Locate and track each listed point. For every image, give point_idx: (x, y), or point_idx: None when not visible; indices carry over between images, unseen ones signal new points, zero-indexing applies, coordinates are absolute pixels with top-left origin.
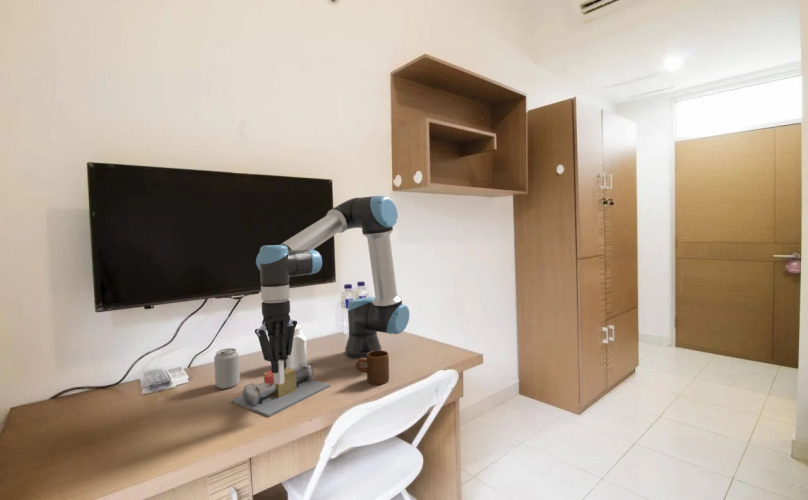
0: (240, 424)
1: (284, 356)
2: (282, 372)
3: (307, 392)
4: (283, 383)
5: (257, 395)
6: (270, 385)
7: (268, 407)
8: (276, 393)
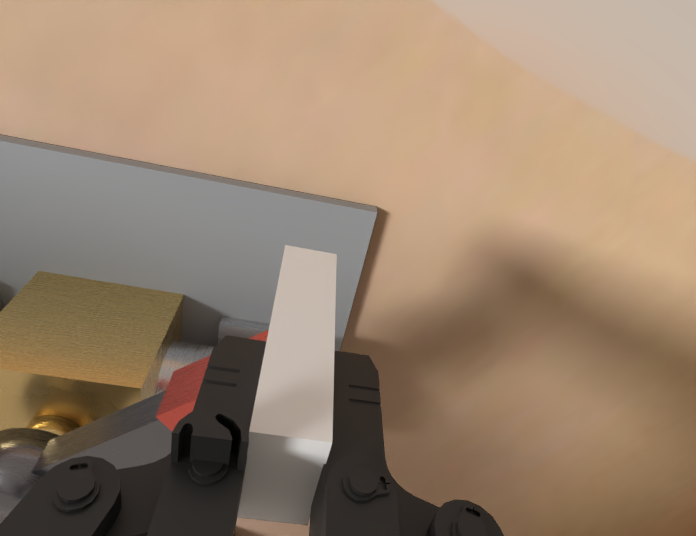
0: (486, 285)
1: (212, 478)
2: (294, 316)
3: (18, 182)
4: (114, 338)
5: None
6: None
7: None
8: (176, 324)
